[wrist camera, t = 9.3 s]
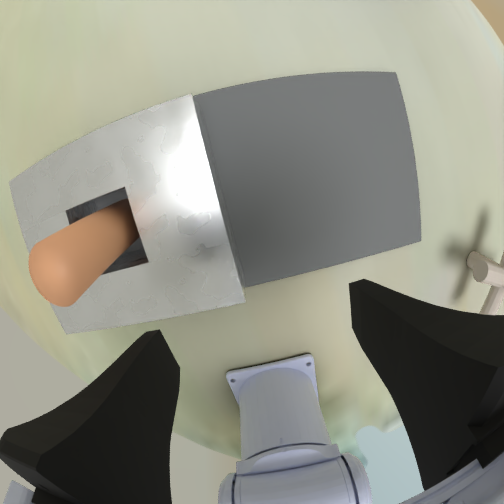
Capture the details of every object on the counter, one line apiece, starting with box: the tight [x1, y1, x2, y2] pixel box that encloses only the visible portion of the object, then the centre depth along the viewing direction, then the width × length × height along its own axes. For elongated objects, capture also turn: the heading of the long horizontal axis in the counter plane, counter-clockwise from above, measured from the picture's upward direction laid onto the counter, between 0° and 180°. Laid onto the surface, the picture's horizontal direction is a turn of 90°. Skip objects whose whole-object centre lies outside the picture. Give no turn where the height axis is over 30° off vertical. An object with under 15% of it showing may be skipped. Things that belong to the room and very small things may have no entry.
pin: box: [29, 199, 140, 307], centre depth 13 cm, size 3×3×10 cm
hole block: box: [9, 94, 246, 334], centre depth 16 cm, size 12×14×4 cm
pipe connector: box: [467, 251, 504, 315], centre depth 16 cm, size 10×10×10 cm
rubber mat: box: [95, 72, 421, 287], centre depth 18 cm, size 14×30×1 cm, turn 103°
